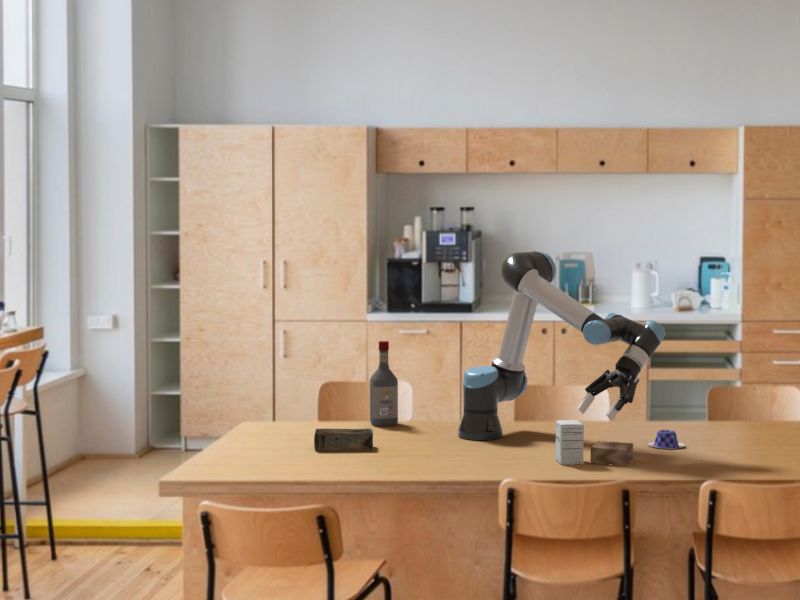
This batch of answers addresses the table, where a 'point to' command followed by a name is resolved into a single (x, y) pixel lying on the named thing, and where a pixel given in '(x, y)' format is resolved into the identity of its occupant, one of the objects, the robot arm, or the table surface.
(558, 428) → the supplement box
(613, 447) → the riser block
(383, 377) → the liquor
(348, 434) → the beverage carton
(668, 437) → the pudding
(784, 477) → the table surface
